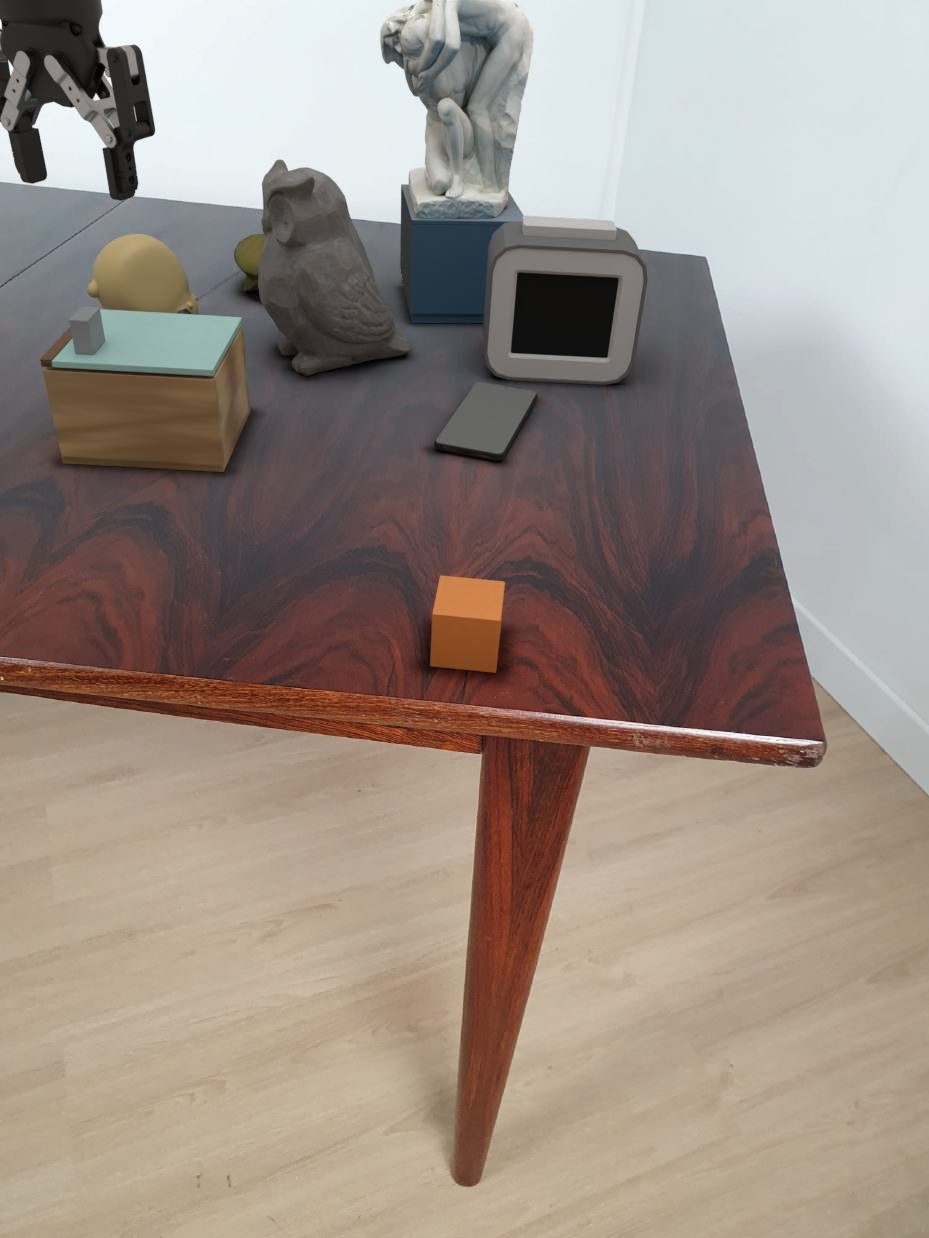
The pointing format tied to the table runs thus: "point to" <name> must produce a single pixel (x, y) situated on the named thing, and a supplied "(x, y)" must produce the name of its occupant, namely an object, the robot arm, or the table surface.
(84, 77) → the robot arm
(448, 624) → the block
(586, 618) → the table surface
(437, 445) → the smartphone
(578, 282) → the alarm clock
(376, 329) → the figurine
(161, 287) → the toy pig
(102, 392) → the maple box
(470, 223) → the sculpture
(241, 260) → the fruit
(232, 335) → the mint sliding box lid
